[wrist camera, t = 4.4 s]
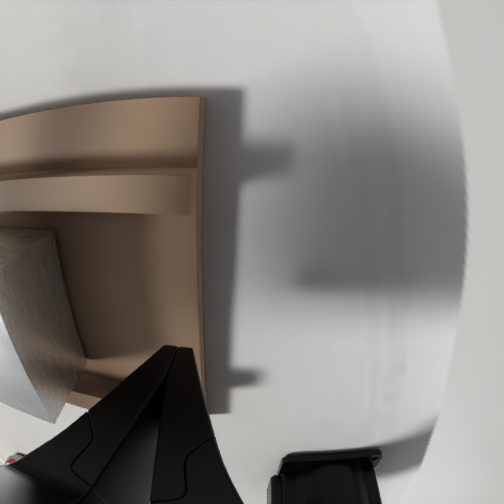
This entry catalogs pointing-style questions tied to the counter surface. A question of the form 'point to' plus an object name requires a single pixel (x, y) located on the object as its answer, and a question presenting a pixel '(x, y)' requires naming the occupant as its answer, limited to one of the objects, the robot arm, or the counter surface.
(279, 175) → the counter surface
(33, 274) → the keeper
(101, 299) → the track
